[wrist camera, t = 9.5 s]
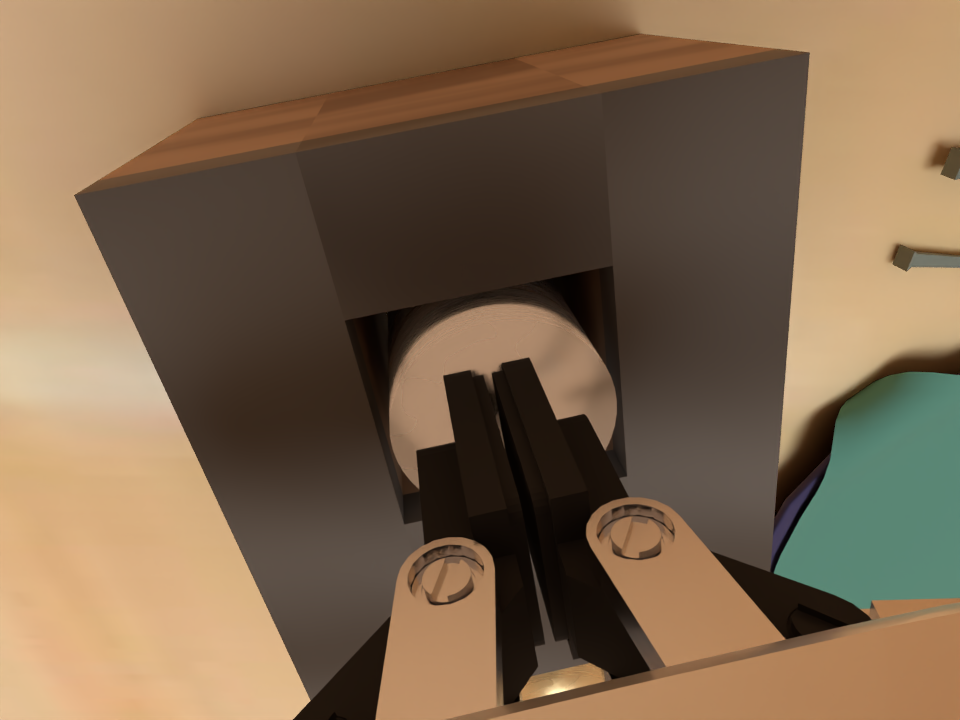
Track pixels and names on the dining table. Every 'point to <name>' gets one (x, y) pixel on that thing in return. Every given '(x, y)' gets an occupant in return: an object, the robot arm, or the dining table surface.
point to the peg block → (466, 292)
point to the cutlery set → (883, 487)
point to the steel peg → (489, 361)
